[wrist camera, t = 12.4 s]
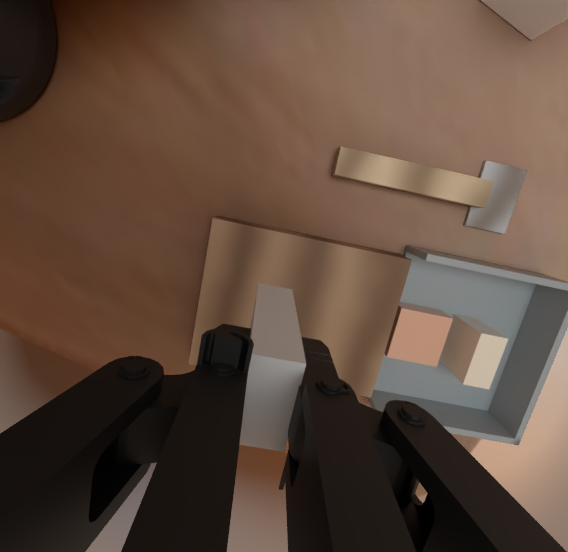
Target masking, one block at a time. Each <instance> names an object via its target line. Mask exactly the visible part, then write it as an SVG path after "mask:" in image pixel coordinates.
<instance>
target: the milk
mask: <svg viewBox="0 0 568 552" xmlns="http://www.w3.org/2000/svg"><path fill="white" fill-rule="evenodd" d="M481 1H482V2H483V3H484V4H486V5H487V6H488V7H489V8H491V9H492V10H493V11H494V12H496V13H497V14H498V15H500V16H501V17H502V18H503V19H505V20H506V21H507V22H508V23H510V24H511V25H512V26H513V27H515V28H516V29H517V30H518V31H520V32H521V33H522V34H524V35H525V36H526V37H527V38H529V39H530V40H533V39H535V38H536V37H538V36H540V35H541V34H543V33H545V32H546V31H548V30H550V29H551V28H553V27H555V26H556V25H558V24H560V23H561V22H563V21H565V20H566V19H568V0H481Z"/></svg>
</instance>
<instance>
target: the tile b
mask: <svg viewBox="0 0 568 552" xmlns="http://www.w3.org/2000/svg"><path fill="white" fill-rule="evenodd" d="M507 342H508V338H507V337H505V336H503V335H502V334H500V333H499V332H497V331H496V330H494V329H492V328H491V327H489V326H488V325H486V324H485V323H483V322H481V321H480V320H478V319H475V318H470V317H466V316H461V315H456V314H454V315H453V321H452V324H451V326H450V329H449V332H448V335H447V338H446V341H445V344H444V347H443V350H442V353H441V356H440V359H439V360H440V361H441V362H442V363H443V364H444V365H445V366H446V367H447V368H448V369H449V370H450V371H451V373H452V374H453V375H454V376H455V377H456V378H457V379H458V380H459V381H460V382H461V383H462V384H464V385H469V386H474V387H479V388H484V389H489V388H490V386H491V383H492V381H493V378H494V375H495V373H496V370H497V368H498V365H499V362H500V360H501V357H502V355H503V352H504V349H505V347H506V344H507Z"/></svg>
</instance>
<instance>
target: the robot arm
mask: <svg viewBox="0 0 568 552" xmlns="http://www.w3.org/2000/svg"><path fill="white" fill-rule="evenodd" d="M55 54H56V26H55V20H54V15H53V10H52V7H51V4H50V0H0V121H2V120H5V119H8V118H10V117H13V116H14V115H16V114H18V113H20V112H21V111H23V110H24V109H26V108H27V107H28V106H29V105H30V104H32V103H33V102H34V101H35V99H36V98H37V97H38V96H39V95H40V93H41V92H42V90H43V89H44V87H45V85H46V83H47V81H48V79H49V77H50V74H51V71H52V68H53V65H54V60H55ZM287 438H288V441H289V450H288V454H287V458H286V462H285V466H284V469H283V473H282V477H281V481H280V486H279V489H281V490H282V489H283V487H284V483H285V485H286V509H287V533H288V552H566V551H565V550H564V549H563V548H562V547H561V546H560V544H558V543H557V542H556V540H554V539H553V537H552V536H551V535H550V534H549V533H548V532H547V531H546V530H545V529H544V528H543V527H542V526H541V525H540V524H539V523H538V522H537V521H536V520H535V519H534V518H533V517H532V516H531V515H530V514H529V513H528V512H527V511H526V510H525V509H524V508H523V507H522V506H521V505H520V504H519V503H518V502H517V501H516V500H515V499H514V498H513V497H512V496H511V495H510V494H509V493H508V492H507V491H506V490H505V489H504V488H503V487H502V486H501V485H500V484H499V483H498V482H497V481H496V480H495V479H494V477H492V475H491V474H490V473H489V472H487V470H486V469H485V468H484V467H483V466H482V465H481V464H480V463H478V461H477V460H476V459H475V458H474V457H473V456H472V455H471V454H470V453H469V452H468V451H467V450H466V449H465V448H464V447H463V446H462V445H461V444H460V443H459V442H458V441H457V440H456V439H455V438H454V437H453V436H452V435H451V434H450V433H449V432H448V431H447V430H446V429H445V428H444V427H443V426H442V425H441V424H440V423H439V422H438V421H437V420H436V419H435V418H434V417H433V416H432V415H431V414H430V413H429V412H427V411H426V410H425V409H423V408H421V407H419V406H418V405H417V404H415V403H411V402H409V401H402V400H391V401H389V402H388V403H386V405H385V408H384V411H383V412H381V411H378V410H376V409H373V408H370V407H367V406H365V405H363V404H360V403H359V402H358V400H357V397H356V395H355V392H354V390H353V389H352V387H351V386H350V385H349V384H347V383H346V382H345V381H343V380H341V379H339V377H338V374H337V371H336V368H335V365H334V363H333V360H332V357H331V354H330V351H329V348H328V347H327V346H326V345H325V344H324V343H323V342H322V341H321V340H316V339H311V338H305V337H301V333H300V328H299V322H298V317H297V312H296V306H295V301H294V296H293V290H292V289H287V288H282V287H277V286H272V285H267V284H262V283H258V288H257V293H256V298H255V302H254V307H253V312H252V317H251V322H250V327H249V328H245V327H240V326H234V325H229V324H221V325H220V326H218V327H216V328H215V329H211V330H208V331H206V332H205V333H203V334H202V337H201V343H200V349H199V355H198V361H197V365H196V368H195V370H194V371H192V372H189V373H185V374H180V375H164V371H163V367H162V366H161V365H160V364H159V363H158V362H156V361H154V360H152V359H150V358H145V357H141V356H136V357H135V356H128V357H124V358H119V359H116V360H114V361H112V362H109V363H108V364H106V365H105V366H103V367H102V368H100V369H99V370H97V371H96V372H94V373H92V374H91V375H89V376H88V377H86V378H85V379H83V380H82V381H80V382H79V383H77V384H76V385H74V386H73V387H71V388H69V389H68V390H66V391H65V392H63V393H62V394H60V395H59V396H57V397H56V398H54V399H53V400H51V401H50V402H48V403H47V404H45V405H43V406H42V407H41V408H39V409H37V410H36V411H34V412H33V413H31V414H30V415H28V416H27V417H25V418H24V419H22V420H20V421H19V422H17V423H16V424H14V425H13V426H11V427H10V428H8V429H7V430H5V431H4V432H2V433H1V434H0V552H85V551H86V550H87V549H88V547H89V546H90V544H91V543H92V542H93V541H94V540H95V538H96V537H97V536H98V535H99V533H100V532H101V531H102V529H103V528H104V526H105V525H106V524H107V523H108V522H109V520H110V519H111V518H112V516H113V515H114V514H115V513H116V511H117V510H118V509H119V507H120V506H121V505H122V504H123V502H124V501H125V500H126V498H127V497H128V496H129V494H130V493H131V492H132V491H133V489H134V488H135V487H136V486H137V484H138V483H139V482H140V480H141V479H142V478H143V477H144V475H145V474H146V473H147V471H148V469H149V467H150V465H151V463H156V462H157V464H156V467H155V469H154V472H153V474H152V477H151V479H150V482H149V484H148V487H147V489H146V492H145V494H144V497H143V499H142V501H141V504H140V507H139V509H138V511H137V514H136V516H135V519H134V522H133V524H132V526H131V529H130V531H129V534H128V536H127V539H126V541H125V544H124V546H123V549H122V551H121V552H226V551H227V543H228V535H229V526H230V518H231V509H232V502H233V493H234V485H235V477H236V468H237V460H238V452H239V445H246V446H252V447H259V448H265V449H271V450H278V451H284V450H285V446H286V442H287ZM419 482H420V483H421V485H422V486H423V487H424V489H425V490H426V491H427V493H428V494H427V497H426V499H425V502H424V503H422V502H421V501H420V500H419V499H418V497H417V496H416V494H415V492H416V489H417V486H418V484H419Z"/></svg>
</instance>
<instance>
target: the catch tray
mask: <svg viewBox="0 0 568 552" xmlns="http://www.w3.org/2000/svg"><path fill="white" fill-rule="evenodd" d="M404 256H405V257H407V258H409V259H411V260H412V262H411V266H410V269H409V272H408V276H407V279H406V282H405V286H404V289H403V293H402V296H401V299H400V302H405V303H409V304H414V305H419V306H424V307H429V308H433V309H438V310H442V311H443V312H445V313H446V314H447V315H449V316H450V317H451V318H453V315H454V314H456V315H461V316H466V317H470V318H475V319H478V320H480V321H481V322H483V323H485V324H486V325H488V326H489V327H491V328H492V329H494V330H496V331H497V332H499V333H500V334H502V335H503V336H505V337H507V338H508V342H507V344H506V347H505V349H504V352H503V355H502V357H501V360H500V362H499V365H498V368H497V370H496V373H495V375H494V378H493V381H492V383H491V386H490V388H489V389H484V388H479V387H474V386H469V385H464V384H462V383H461V382H460V381H459V380H458V379H457V378H456V377H455V376H454V375H453V374H452V373H451V371H450V370H449V369H448V368H447V367H446V366H445V365H444V364H443V363H442V362H441V361H440V360H439V362H438V365H437V367H435V366H430V365H425V364H420V363H414V362H409V361H404V360H399V359H394V358H389V357H386V355H385V354H384V356H383V360H382V363H381V366H380V370H379V373H378V376H377V380H376V383H375V387H374V390H373V393H372V397H371V398H370V397H367V398H368V400H369V403H370V405H371V407H372V408H373V409H376V410H378V411H381V412H383V411H384V408H385V405H386V403H388V402H389V401H391V400H402V401H409V402H411V403H415V404H417V405H418V406H419V407H421V408H423V409H425V410H426V411H427V412H429V413H430V414H431V415H432V416H433V417H434V418H435V419H436V420H437V421H438V422H439V423H440V424H441V425H442V426H443V427H444V428H445V429H446V430H447V431H448V432H449V433H453V434H459V435H464V436H470V437H475V438H481V439H487V440H492V441H498V442H504V443H509V444H514V445H519V443H520V441H521V438H522V436H523V433H524V431H525V429H526V426H527V424H528V421H529V419H530V416H531V413H532V412H533V409H534V407H535V404H536V402H537V400H538V397H539V395H540V392H541V390H542V387H543V385H544V383H545V380H546V378H547V375H548V373H549V370H550V368H551V366H552V363H553V361H554V359H555V356H556V354H557V351H558V349H559V346H560V344H561V342H562V339H563V337H564V335H565V332H566V330H567V327H568V282H566V281H563V280H560V279H557V278H553V277H550V276H547V275H544V274H540V273H535V272H530V271H526V270H521V269H516V268H512V267H507V266H502V265H498V264H493V263H488V262H484V261H479V260H474V259H470V258H465V257H460V256H456V255H451V254H446V253H442V252H437V251H432V250H427V249H423V248H418V247H413V246H409V245H407V246H406V249H405V253H404Z"/></svg>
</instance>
